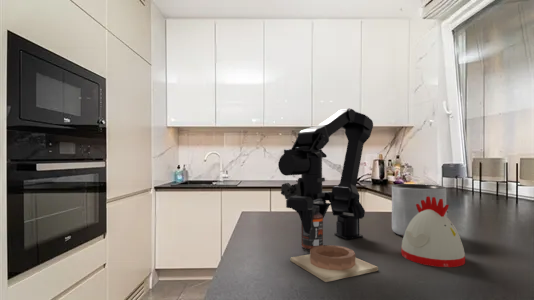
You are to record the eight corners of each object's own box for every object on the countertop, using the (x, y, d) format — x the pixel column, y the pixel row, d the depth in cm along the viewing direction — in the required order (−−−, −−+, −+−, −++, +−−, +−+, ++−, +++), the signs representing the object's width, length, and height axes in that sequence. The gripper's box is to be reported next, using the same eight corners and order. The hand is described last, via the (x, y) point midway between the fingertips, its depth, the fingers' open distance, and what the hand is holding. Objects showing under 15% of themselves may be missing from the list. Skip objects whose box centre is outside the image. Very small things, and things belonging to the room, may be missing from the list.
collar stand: (337, 252, 80) (337, 240, 80) (378, 270, 67) (377, 255, 67) (290, 260, 73) (290, 247, 74) (325, 282, 61) (325, 265, 61)
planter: (456, 242, 89) (455, 188, 90) (398, 239, 92) (397, 188, 93) (436, 229, 105) (435, 184, 106) (387, 227, 108) (386, 183, 108)
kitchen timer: (441, 271, 67) (440, 202, 67) (389, 253, 79) (388, 195, 79) (477, 261, 73) (476, 198, 73) (424, 246, 85) (423, 192, 86)
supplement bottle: (322, 250, 81) (322, 208, 81) (300, 249, 82) (300, 207, 82) (323, 244, 87) (323, 204, 87) (302, 243, 88) (302, 204, 88)
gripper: (301, 172, 97) (302, 221, 97) (268, 174, 82) (269, 233, 82) (335, 172, 91) (335, 225, 91) (306, 176, 76) (306, 239, 75)
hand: (312, 230), depth 85 cm, fingers closed on supplement bottle, 6 cm apart
